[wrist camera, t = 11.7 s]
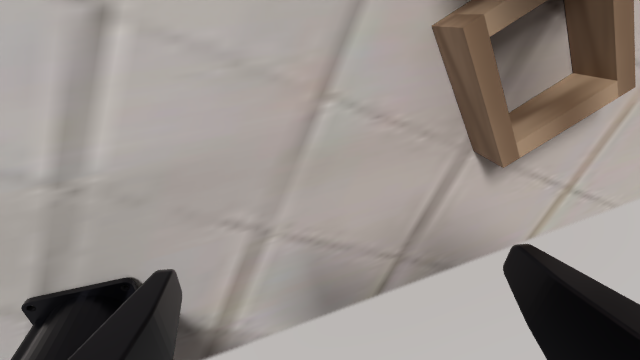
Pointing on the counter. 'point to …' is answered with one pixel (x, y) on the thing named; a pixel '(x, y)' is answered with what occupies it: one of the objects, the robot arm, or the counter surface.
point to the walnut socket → (554, 103)
